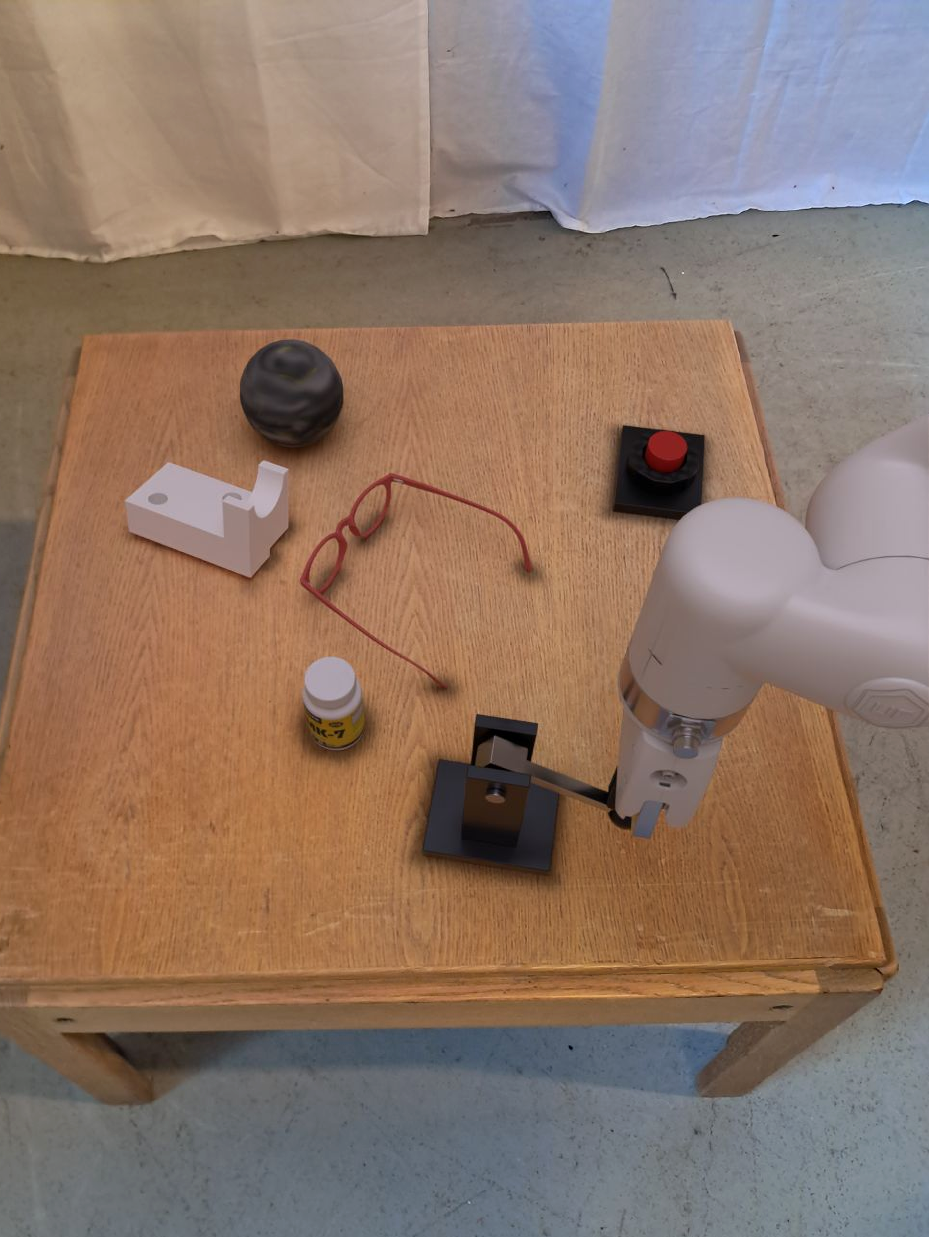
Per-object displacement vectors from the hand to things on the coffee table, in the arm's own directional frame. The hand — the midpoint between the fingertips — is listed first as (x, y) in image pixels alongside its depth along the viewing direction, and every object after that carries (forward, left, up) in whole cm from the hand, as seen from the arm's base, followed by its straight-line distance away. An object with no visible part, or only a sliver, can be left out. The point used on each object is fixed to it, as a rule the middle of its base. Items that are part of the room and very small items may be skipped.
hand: (628, 801), depth 74 cm
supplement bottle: (+24, -6, -8) cm, 26 cm away
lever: (+5, 0, 0) cm, 5 cm away
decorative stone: (+35, -38, -8) cm, 52 cm away
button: (-1, -38, -5) cm, 38 cm away
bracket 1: (+40, -25, -8) cm, 48 cm away
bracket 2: (+10, 0, -8) cm, 12 cm away
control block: (-1, -38, -8) cm, 39 cm away
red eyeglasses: (+20, -21, -8) cm, 30 cm away
